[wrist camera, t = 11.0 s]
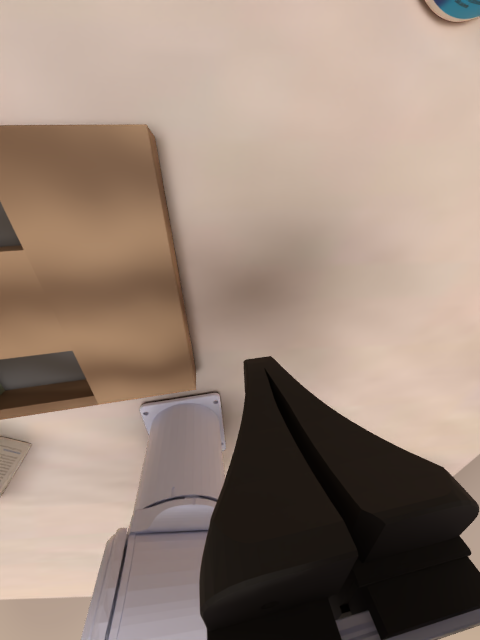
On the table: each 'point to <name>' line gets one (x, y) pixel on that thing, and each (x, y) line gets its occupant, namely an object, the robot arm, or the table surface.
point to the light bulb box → (10, 459)
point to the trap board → (86, 271)
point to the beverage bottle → (455, 9)
